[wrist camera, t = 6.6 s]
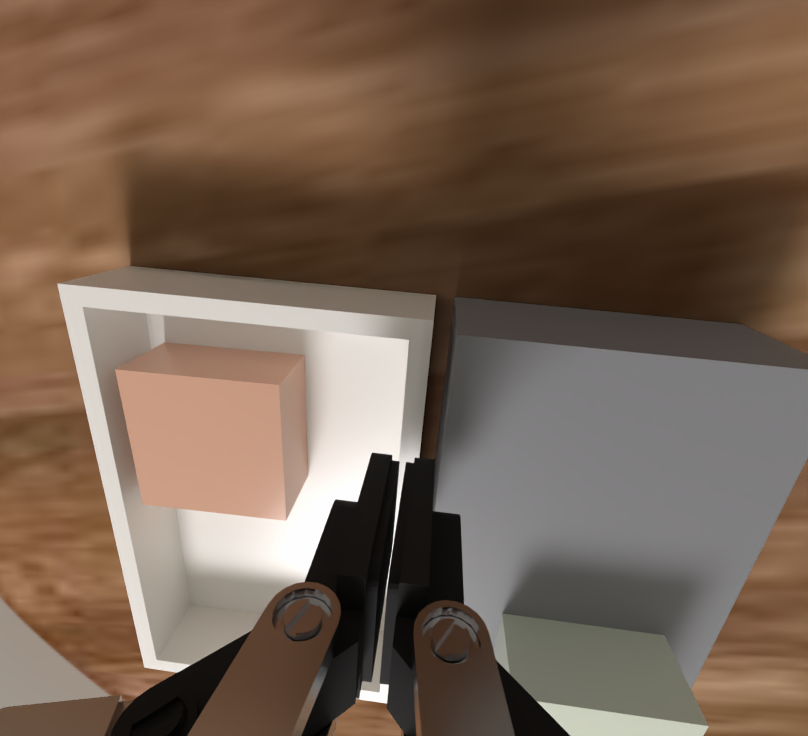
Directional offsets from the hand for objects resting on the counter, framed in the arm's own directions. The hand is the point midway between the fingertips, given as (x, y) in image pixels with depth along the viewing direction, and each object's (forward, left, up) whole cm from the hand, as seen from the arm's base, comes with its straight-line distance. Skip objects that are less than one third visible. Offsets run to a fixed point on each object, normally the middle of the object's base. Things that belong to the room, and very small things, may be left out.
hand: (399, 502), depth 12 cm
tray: (+3, -5, -5) cm, 8 cm away
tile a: (0, -6, -2) cm, 7 cm away
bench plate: (+3, +6, -5) cm, 8 cm away
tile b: (+7, +6, -1) cm, 9 cm away
